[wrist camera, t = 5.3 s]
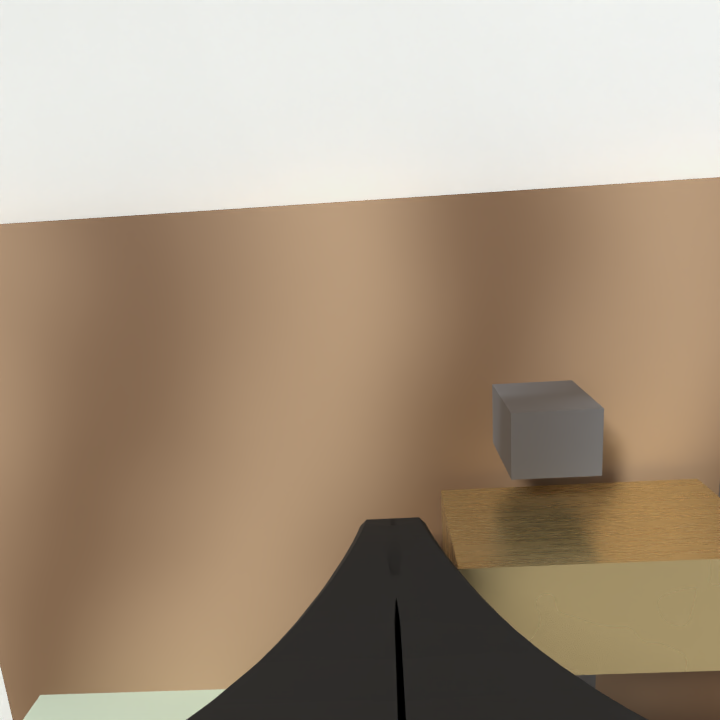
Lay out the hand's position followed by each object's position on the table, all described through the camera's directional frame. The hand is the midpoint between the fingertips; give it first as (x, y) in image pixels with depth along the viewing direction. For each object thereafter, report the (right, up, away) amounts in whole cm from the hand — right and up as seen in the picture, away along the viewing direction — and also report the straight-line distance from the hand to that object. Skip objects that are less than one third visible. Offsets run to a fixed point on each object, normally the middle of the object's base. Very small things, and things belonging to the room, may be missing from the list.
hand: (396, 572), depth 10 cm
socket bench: (+1, -2, +3) cm, 4 cm away
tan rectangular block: (+3, 0, +1) cm, 3 cm away
